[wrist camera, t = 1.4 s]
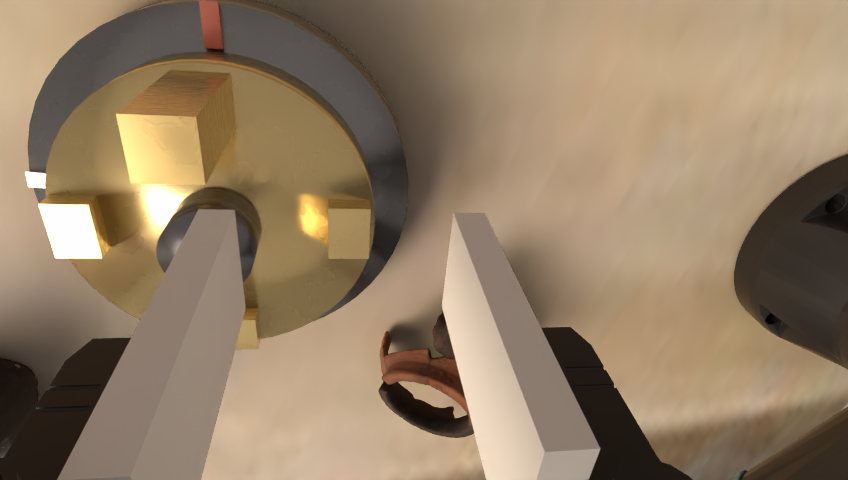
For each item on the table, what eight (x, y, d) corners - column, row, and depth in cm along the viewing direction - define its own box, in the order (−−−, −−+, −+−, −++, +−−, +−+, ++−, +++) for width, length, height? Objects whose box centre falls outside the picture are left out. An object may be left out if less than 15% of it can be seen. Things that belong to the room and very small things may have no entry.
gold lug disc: (368, 310, 32) (375, 421, 25) (107, 314, 30) (31, 437, 23) (377, 61, 25) (391, 116, 18) (31, 40, 23) (-119, 93, 15)
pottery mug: (514, 365, 42) (487, 461, 37) (405, 329, 44) (364, 415, 39) (544, 266, 34) (515, 372, 28) (407, 227, 36) (355, 318, 30)
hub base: (414, 7, 27) (442, 38, 19) (394, 303, 37) (407, 402, 29) (5, -24, 24) (-153, -1, 16) (99, 306, 34) (27, 417, 26)
